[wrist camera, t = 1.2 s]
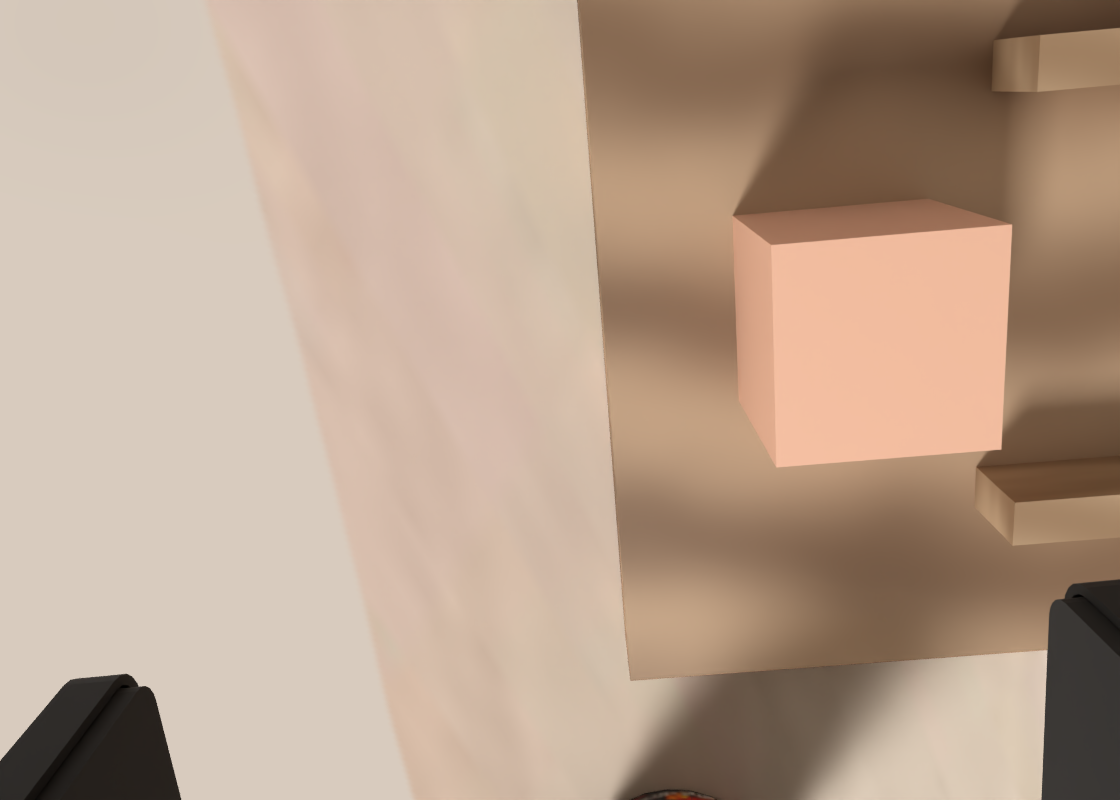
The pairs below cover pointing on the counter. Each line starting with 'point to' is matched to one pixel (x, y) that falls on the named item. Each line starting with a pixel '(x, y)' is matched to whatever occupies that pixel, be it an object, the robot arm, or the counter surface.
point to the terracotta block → (872, 330)
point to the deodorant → (673, 796)
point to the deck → (830, 181)
